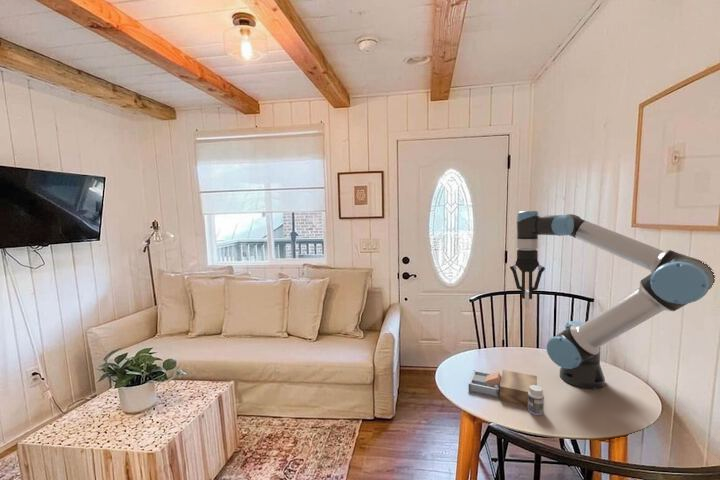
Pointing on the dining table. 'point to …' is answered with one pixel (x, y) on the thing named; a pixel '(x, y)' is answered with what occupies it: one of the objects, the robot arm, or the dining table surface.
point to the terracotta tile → (493, 379)
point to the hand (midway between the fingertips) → (526, 306)
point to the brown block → (516, 386)
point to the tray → (483, 389)
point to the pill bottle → (535, 400)
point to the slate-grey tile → (479, 380)
